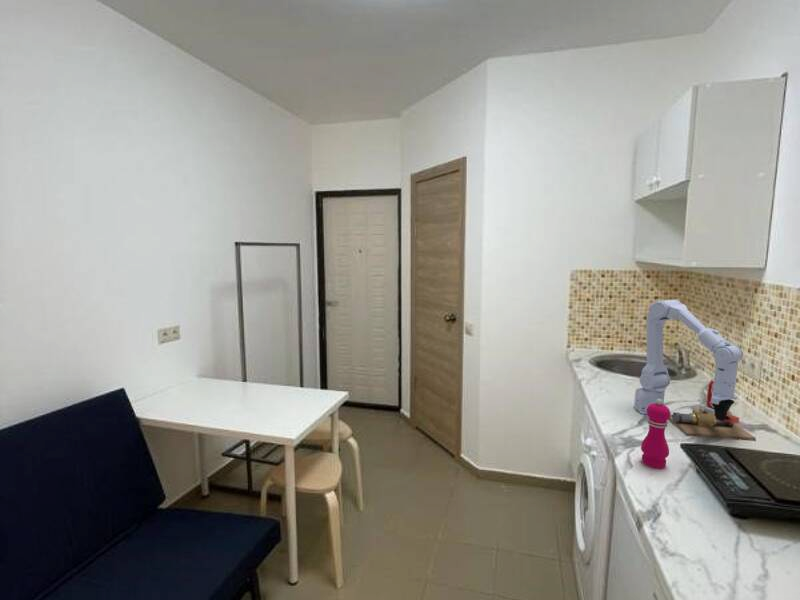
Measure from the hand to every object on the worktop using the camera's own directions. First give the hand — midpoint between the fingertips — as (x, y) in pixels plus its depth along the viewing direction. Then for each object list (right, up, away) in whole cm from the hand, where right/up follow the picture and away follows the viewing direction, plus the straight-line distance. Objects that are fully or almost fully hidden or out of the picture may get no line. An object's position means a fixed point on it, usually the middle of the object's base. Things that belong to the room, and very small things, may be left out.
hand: (720, 419), depth 146 cm
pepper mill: (-32, -9, -17) cm, 37 cm away
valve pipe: (0, -5, +9) cm, 10 cm away
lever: (+2, 0, +4) cm, 4 cm away
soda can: (+17, -3, +25) cm, 30 cm away
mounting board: (+2, -5, +8) cm, 10 cm away
